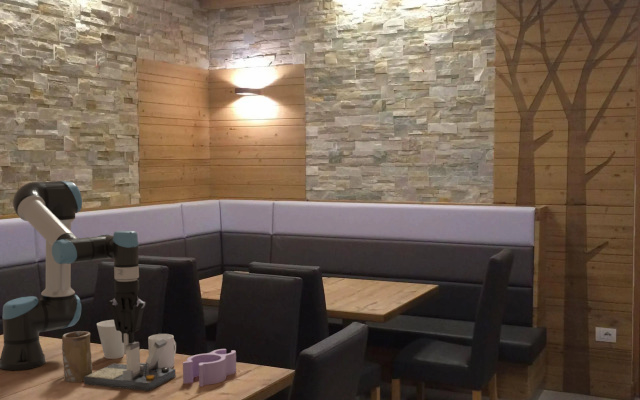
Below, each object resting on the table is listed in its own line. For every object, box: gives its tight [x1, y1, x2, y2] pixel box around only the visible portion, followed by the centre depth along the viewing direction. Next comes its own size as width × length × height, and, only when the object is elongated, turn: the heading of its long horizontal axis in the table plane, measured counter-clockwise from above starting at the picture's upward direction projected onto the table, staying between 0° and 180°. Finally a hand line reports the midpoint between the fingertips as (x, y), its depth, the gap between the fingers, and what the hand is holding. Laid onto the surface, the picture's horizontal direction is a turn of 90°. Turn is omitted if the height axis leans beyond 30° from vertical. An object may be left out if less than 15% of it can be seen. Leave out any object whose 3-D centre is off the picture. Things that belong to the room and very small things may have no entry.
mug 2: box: [147, 333, 177, 369], centre depth 256 cm, size 9×12×11 cm
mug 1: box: [61, 330, 93, 383], centre depth 243 cm, size 9×13×15 cm
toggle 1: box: [125, 341, 141, 377], centre depth 235 cm, size 2×5×11 cm, turn 161°
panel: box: [83, 359, 176, 392], centre depth 240 cm, size 24×17×6 cm
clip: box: [182, 348, 237, 387], centre depth 243 cm, size 20×12×7 cm, turn 149°
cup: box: [96, 319, 125, 360], centre depth 270 cm, size 12×12×12 cm
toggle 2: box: [144, 339, 167, 369], centre depth 242 cm, size 2×5×11 cm, turn 161°
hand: (128, 352), depth 235 cm, fingers closed
